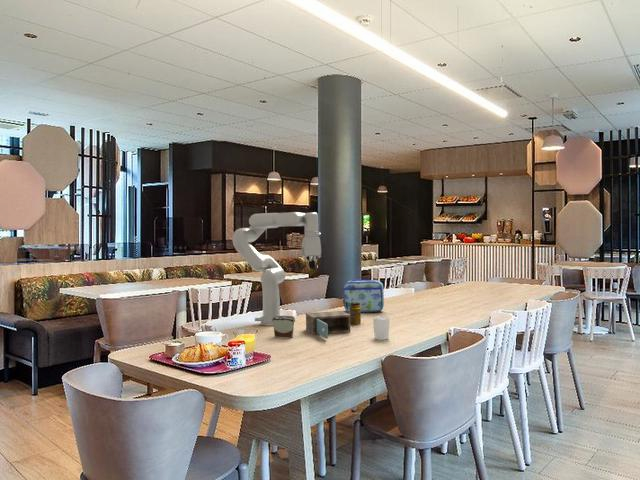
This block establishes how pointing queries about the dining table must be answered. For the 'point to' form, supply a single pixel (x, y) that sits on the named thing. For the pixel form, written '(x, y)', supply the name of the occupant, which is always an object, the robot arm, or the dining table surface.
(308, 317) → the bread box
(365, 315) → the dining table surface
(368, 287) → the lunch box
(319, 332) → the door
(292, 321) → the food container
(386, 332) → the white cup
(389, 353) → the dining table surface
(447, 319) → the dining table surface
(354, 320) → the condiment
